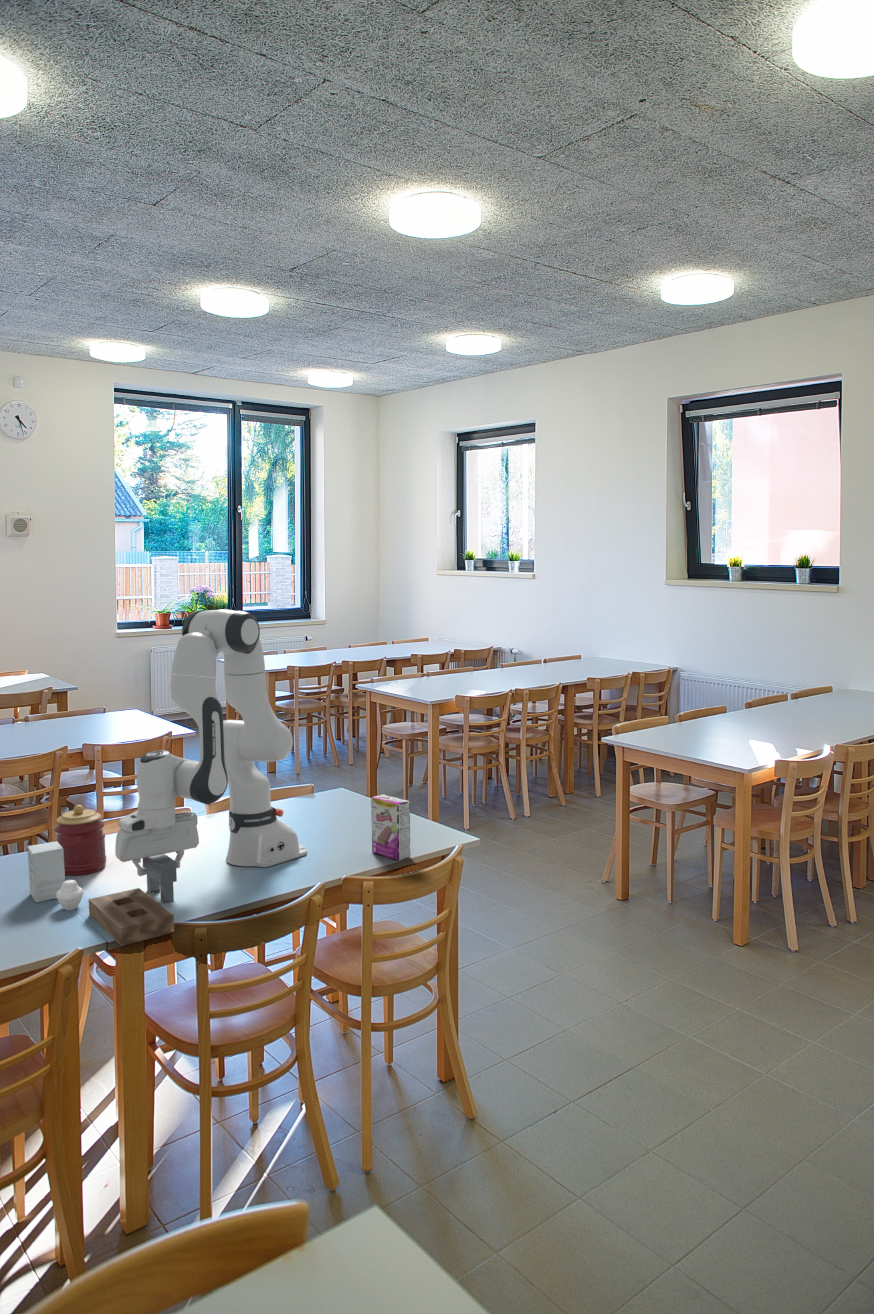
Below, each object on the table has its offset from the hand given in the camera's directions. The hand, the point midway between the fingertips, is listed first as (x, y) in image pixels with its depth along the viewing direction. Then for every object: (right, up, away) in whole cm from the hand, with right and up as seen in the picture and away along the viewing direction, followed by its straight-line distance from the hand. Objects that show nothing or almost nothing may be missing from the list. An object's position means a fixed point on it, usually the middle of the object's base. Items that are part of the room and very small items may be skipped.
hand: (159, 871), depth 230 cm
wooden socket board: (-2, -8, -17) cm, 19 cm away
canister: (-28, -5, +22) cm, 36 cm away
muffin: (-19, -7, -7) cm, 22 cm away
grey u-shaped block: (0, -6, +1) cm, 6 cm away
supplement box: (-28, -7, +2) cm, 29 cm away
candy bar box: (+56, -3, +31) cm, 64 cm away
